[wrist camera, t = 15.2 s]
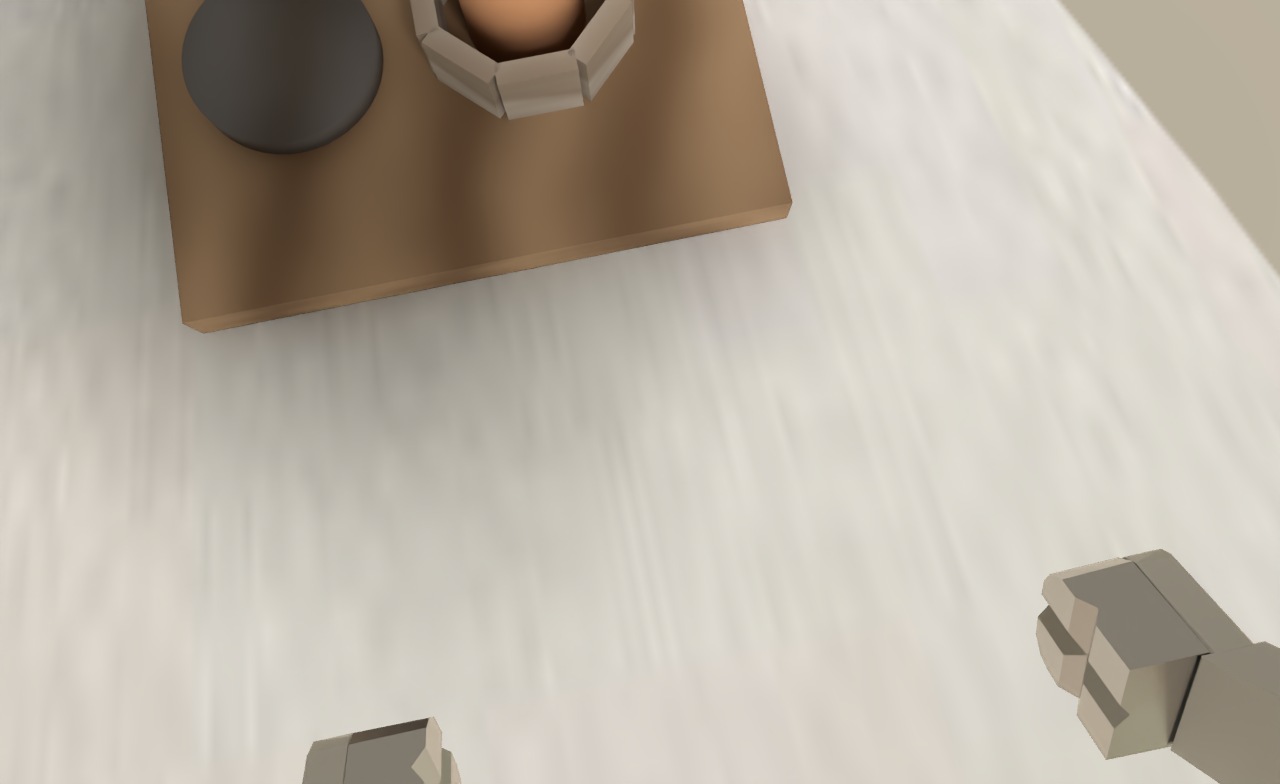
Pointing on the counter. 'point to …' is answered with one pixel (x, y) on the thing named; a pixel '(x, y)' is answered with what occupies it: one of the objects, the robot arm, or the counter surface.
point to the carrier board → (442, 145)
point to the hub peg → (523, 26)
